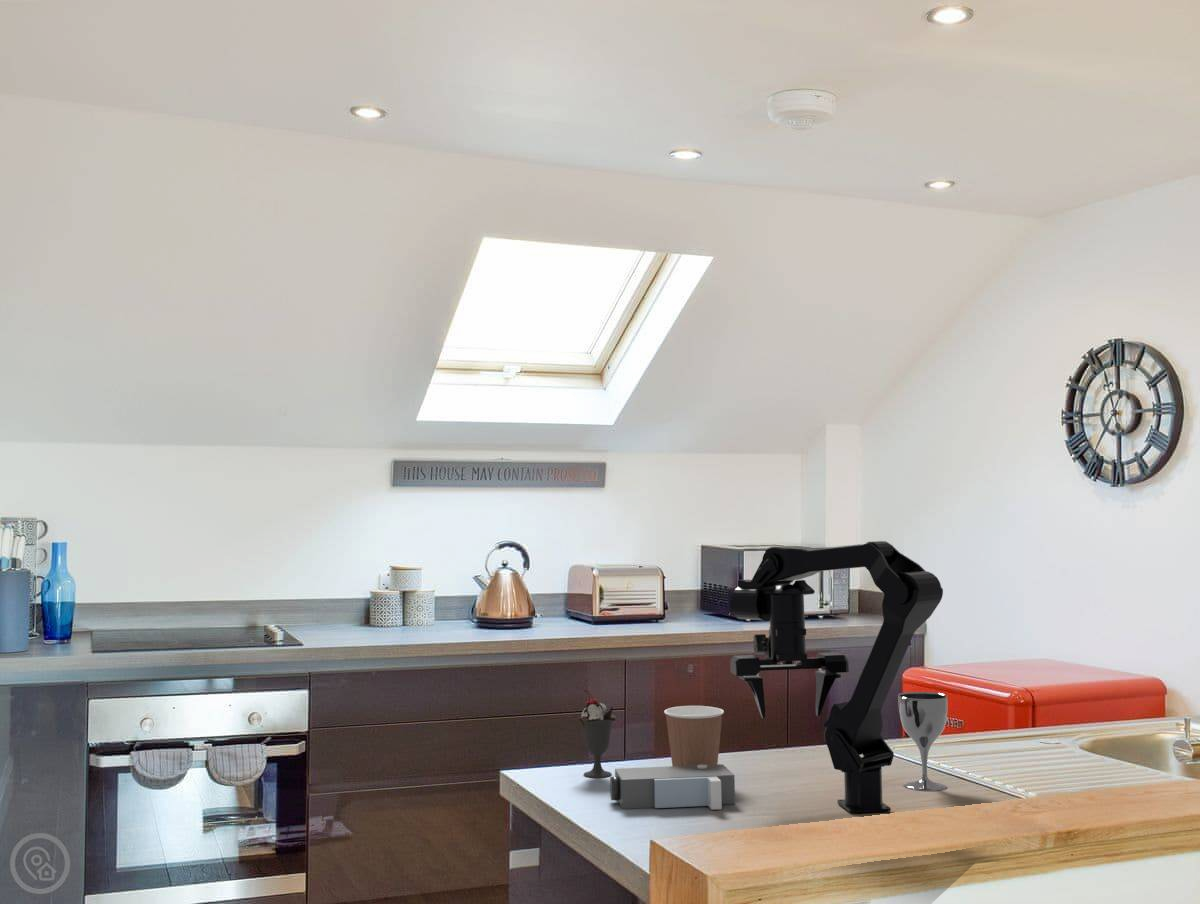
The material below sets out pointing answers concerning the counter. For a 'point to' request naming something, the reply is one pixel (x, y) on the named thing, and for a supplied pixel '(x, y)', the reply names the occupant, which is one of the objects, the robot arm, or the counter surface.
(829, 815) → the counter surface
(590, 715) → the sundae
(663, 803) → the side door
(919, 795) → the counter surface
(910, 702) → the wine glass
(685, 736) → the coffee cup
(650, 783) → the sliding door box
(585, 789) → the counter surface
